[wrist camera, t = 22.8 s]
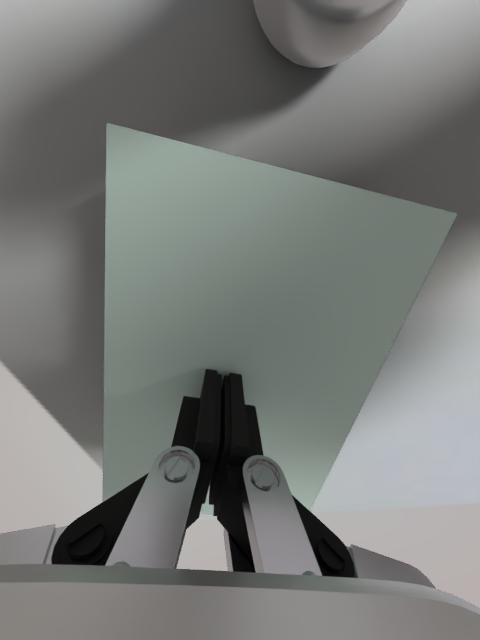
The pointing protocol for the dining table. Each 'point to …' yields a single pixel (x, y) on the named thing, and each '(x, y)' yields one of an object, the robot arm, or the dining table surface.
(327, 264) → the cover
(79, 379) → the dining table surface
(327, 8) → the plastic bottle
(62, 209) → the dining table surface
